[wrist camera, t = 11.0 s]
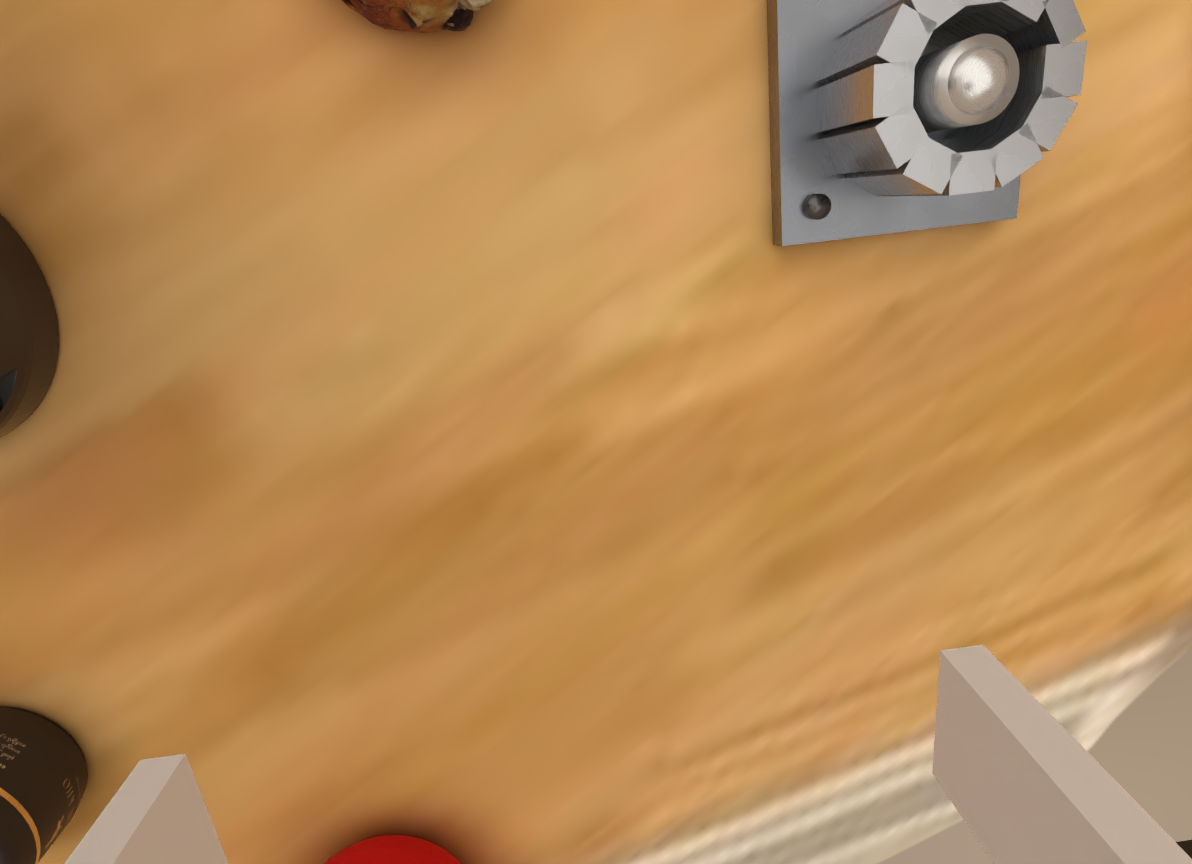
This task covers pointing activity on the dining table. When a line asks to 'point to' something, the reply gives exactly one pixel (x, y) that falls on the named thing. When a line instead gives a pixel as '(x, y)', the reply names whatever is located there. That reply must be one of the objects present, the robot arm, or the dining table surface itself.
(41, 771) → the jar
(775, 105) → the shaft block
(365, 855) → the tomato
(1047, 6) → the tube
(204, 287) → the dining table surface
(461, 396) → the dining table surface
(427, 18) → the bread roll
